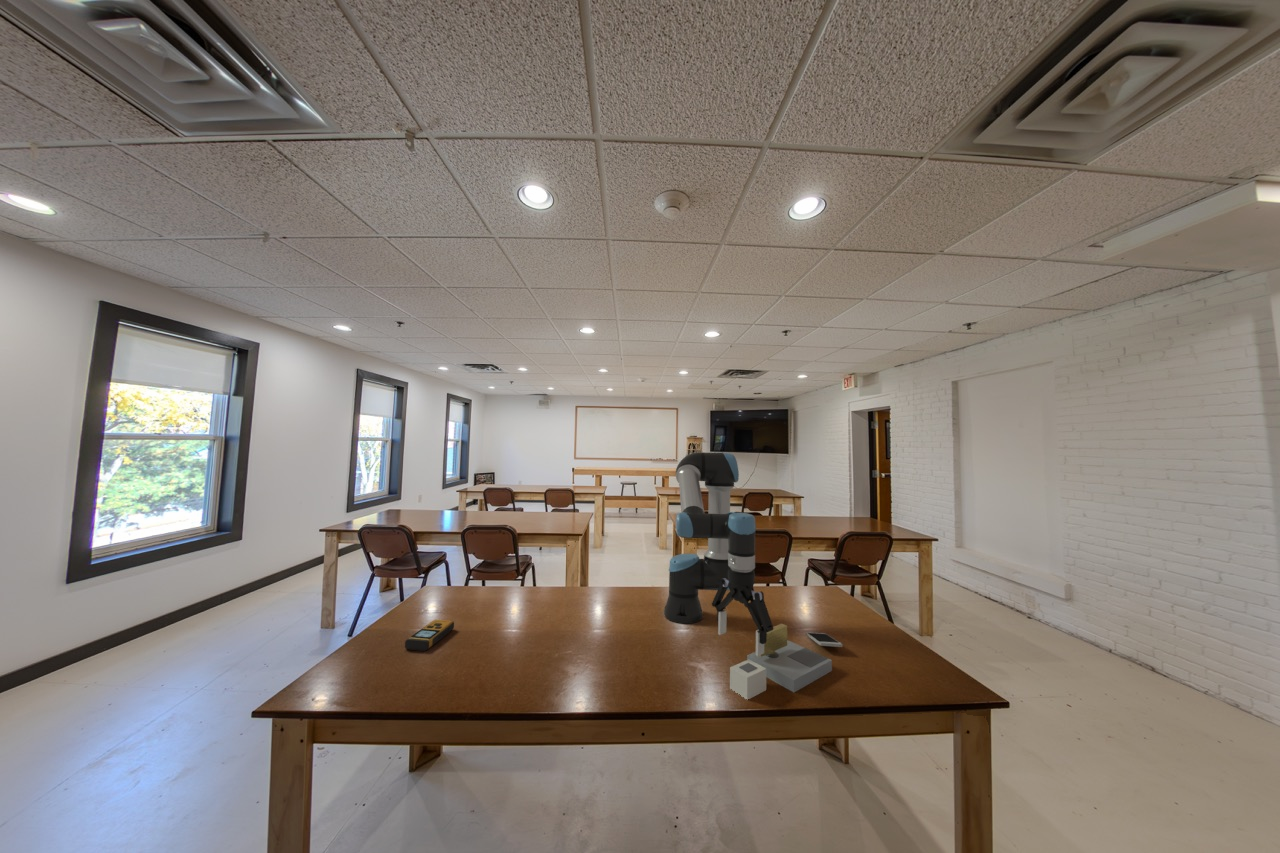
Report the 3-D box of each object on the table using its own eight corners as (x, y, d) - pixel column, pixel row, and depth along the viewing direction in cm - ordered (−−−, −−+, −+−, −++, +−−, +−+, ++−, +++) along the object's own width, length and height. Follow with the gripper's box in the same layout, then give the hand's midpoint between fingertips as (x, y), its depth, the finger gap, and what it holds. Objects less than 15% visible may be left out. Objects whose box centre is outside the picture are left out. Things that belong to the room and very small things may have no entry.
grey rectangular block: (729, 689, 109) (730, 666, 110) (748, 680, 114) (748, 658, 114) (747, 701, 104) (747, 676, 105) (766, 691, 109) (766, 667, 109)
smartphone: (820, 645, 129) (820, 642, 130) (805, 634, 144) (805, 631, 144) (843, 647, 129) (842, 644, 129) (825, 635, 144) (825, 632, 144)
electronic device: (455, 629, 141) (456, 619, 141) (428, 651, 126) (428, 640, 126) (433, 627, 142) (433, 617, 142) (403, 649, 126) (404, 638, 127)
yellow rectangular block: (761, 661, 117) (761, 636, 118) (755, 658, 119) (755, 633, 119) (787, 649, 125) (787, 625, 125) (781, 646, 126) (781, 623, 127)
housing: (747, 667, 121) (747, 654, 121) (785, 649, 132) (785, 638, 133) (793, 693, 108) (793, 679, 108) (832, 672, 119) (831, 659, 120)
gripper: (701, 559, 122) (699, 629, 121) (770, 584, 101) (769, 668, 101) (718, 555, 126) (717, 622, 125) (787, 578, 106) (786, 659, 105)
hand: (740, 643), depth 113 cm, fingers open, 13 cm apart
